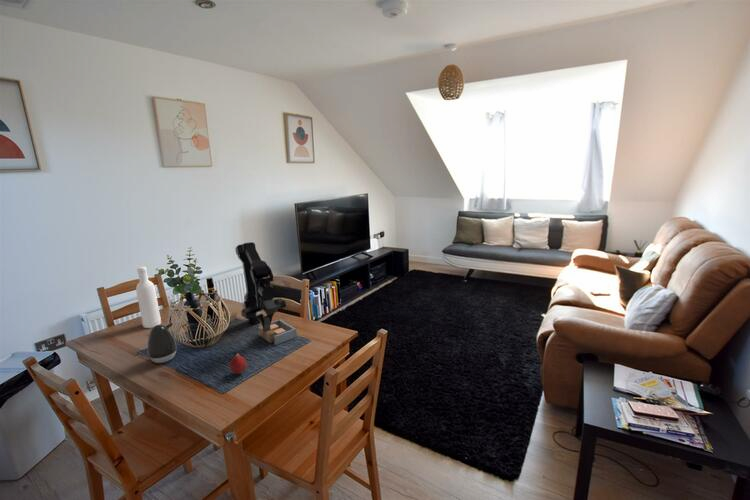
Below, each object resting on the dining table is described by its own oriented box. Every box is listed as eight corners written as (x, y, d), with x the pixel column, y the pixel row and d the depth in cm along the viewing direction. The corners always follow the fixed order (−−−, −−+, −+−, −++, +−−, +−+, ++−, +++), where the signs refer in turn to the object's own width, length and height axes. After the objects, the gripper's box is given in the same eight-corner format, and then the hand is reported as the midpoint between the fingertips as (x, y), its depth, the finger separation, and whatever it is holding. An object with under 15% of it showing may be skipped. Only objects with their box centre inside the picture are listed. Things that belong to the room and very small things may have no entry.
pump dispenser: (183, 358, 145) (177, 324, 142) (155, 369, 138) (148, 333, 134) (173, 350, 152) (167, 317, 148) (145, 360, 144) (138, 326, 141)
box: (260, 333, 165) (259, 326, 164) (280, 326, 171) (280, 319, 171) (275, 345, 154) (274, 336, 153) (296, 337, 161) (296, 328, 160)
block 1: (267, 334, 164) (266, 326, 163) (275, 331, 167) (274, 323, 166) (271, 337, 162) (270, 329, 161) (279, 334, 164) (278, 326, 163)
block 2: (274, 338, 160) (273, 330, 159) (282, 335, 162) (281, 327, 161) (278, 342, 157) (277, 333, 156) (286, 338, 160) (285, 330, 159)
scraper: (259, 334, 162) (256, 314, 160) (265, 332, 164) (262, 312, 162) (270, 343, 154) (268, 321, 152) (276, 340, 156) (274, 319, 154)
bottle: (139, 328, 174) (127, 269, 167) (149, 321, 181) (138, 265, 174) (155, 328, 174) (144, 269, 167) (164, 321, 181) (154, 264, 174)
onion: (237, 379, 130) (235, 359, 128) (227, 375, 133) (225, 355, 131) (250, 371, 134) (248, 352, 133) (241, 367, 137) (238, 348, 136)
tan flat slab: (211, 335, 165) (211, 333, 165) (192, 332, 169) (192, 330, 168) (246, 313, 189) (246, 311, 189) (229, 311, 192) (229, 309, 192)
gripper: (250, 303, 142) (254, 339, 146) (291, 291, 154) (294, 324, 158) (238, 296, 150) (243, 330, 154) (278, 286, 162) (281, 317, 166)
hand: (266, 326), depth 158 cm, fingers closed on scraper, 2 cm apart
